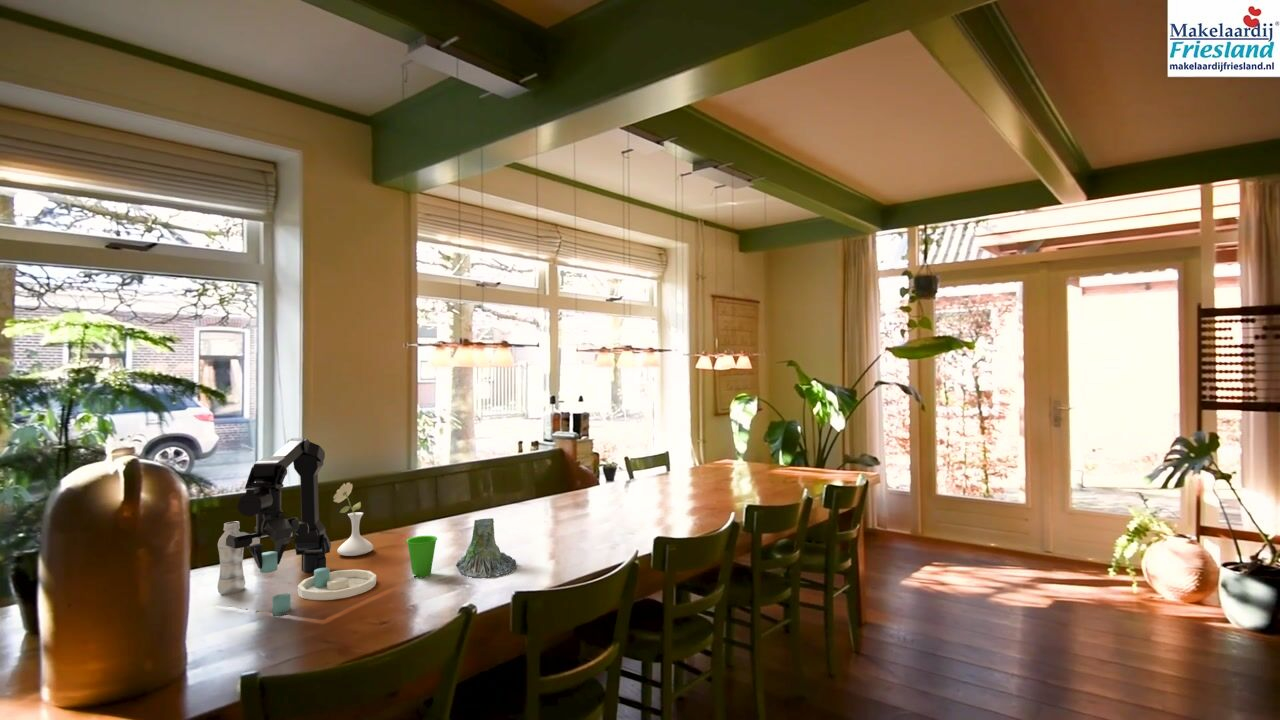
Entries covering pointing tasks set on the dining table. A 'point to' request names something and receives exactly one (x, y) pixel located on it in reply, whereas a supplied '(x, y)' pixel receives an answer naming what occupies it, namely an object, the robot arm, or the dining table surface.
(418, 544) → the cup
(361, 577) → the groove tray
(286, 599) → the bead
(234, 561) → the plastic bottle
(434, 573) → the dining table surface
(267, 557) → the bead
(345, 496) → the flower in vase
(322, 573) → the bead seated
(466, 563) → the tree stump
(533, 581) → the dining table surface
